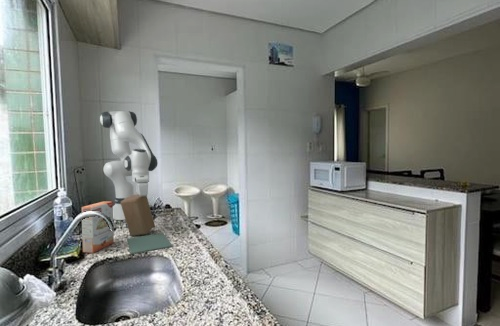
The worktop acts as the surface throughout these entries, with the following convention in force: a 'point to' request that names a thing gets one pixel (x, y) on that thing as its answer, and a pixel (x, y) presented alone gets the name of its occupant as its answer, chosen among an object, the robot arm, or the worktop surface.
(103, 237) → the cracker box
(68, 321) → the worktop surface
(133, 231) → the wooden block
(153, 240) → the mat
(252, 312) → the worktop surface
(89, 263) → the worktop surface
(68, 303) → the worktop surface
